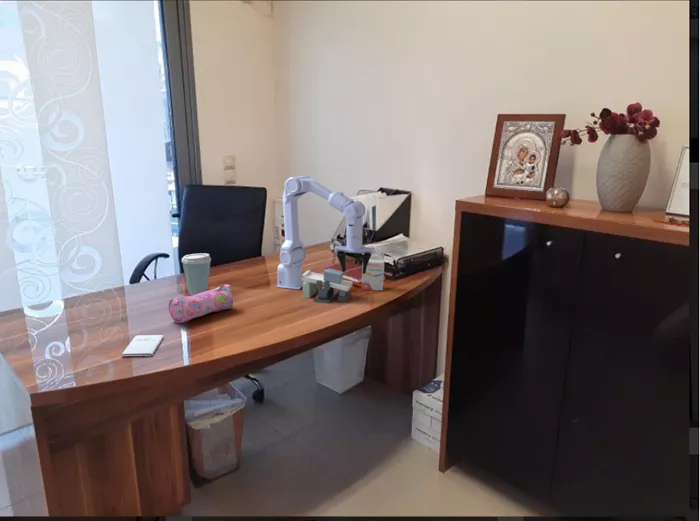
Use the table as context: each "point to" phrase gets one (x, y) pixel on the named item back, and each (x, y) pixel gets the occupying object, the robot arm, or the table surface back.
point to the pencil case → (200, 304)
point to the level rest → (308, 289)
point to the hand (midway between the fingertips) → (354, 272)
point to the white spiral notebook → (143, 345)
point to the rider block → (333, 276)
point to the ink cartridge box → (374, 273)
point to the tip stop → (344, 297)
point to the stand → (325, 292)
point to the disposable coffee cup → (196, 272)
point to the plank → (343, 286)
